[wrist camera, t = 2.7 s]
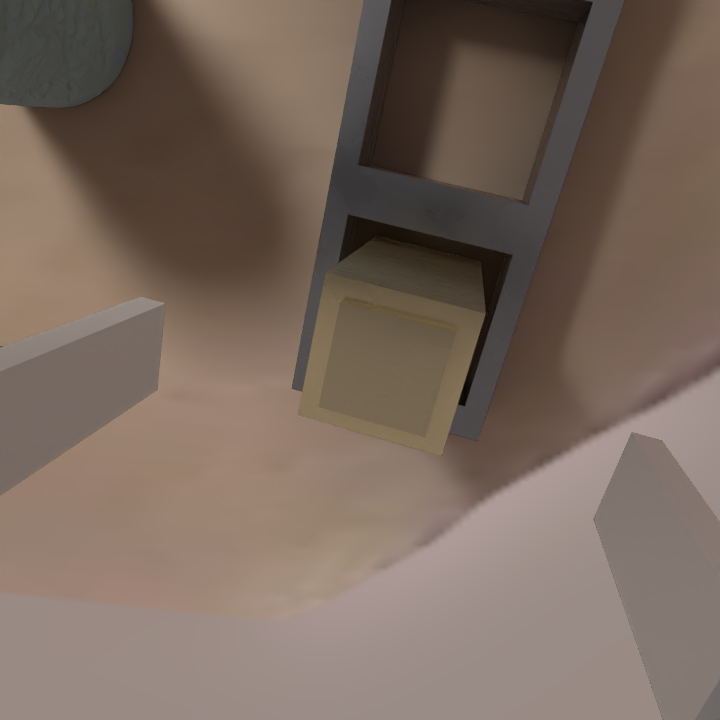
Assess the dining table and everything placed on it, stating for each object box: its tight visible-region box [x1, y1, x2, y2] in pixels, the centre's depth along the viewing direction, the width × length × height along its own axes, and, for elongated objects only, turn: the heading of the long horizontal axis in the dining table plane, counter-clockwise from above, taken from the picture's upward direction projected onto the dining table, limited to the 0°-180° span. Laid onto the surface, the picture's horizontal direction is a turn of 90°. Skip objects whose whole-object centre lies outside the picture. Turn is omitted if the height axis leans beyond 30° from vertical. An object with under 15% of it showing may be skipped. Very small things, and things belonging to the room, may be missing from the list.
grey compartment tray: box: [292, 0, 624, 441], centre depth 22 cm, size 28×9×3 cm, turn 168°
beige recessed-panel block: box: [298, 236, 486, 456], centre depth 22 cm, size 5×5×10 cm
